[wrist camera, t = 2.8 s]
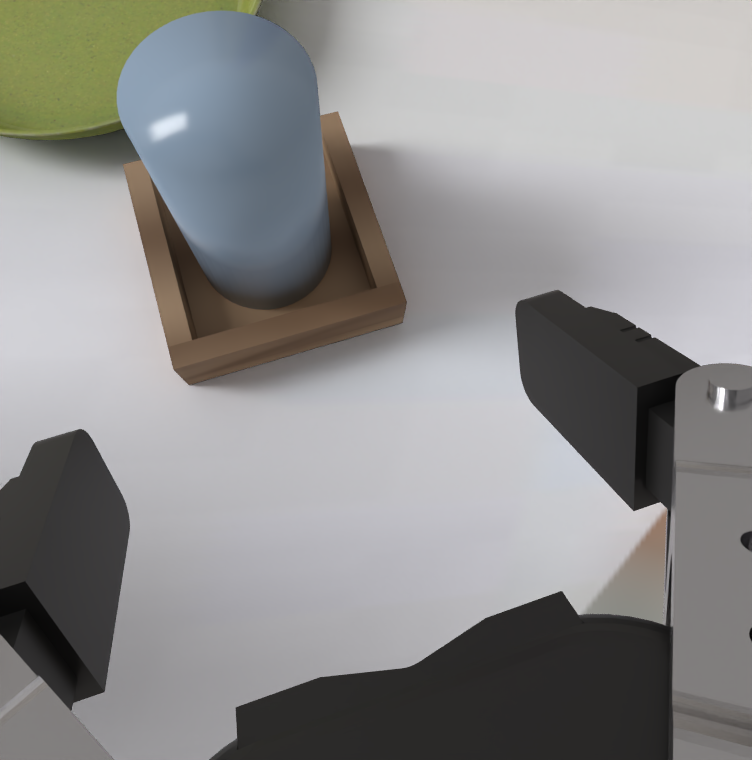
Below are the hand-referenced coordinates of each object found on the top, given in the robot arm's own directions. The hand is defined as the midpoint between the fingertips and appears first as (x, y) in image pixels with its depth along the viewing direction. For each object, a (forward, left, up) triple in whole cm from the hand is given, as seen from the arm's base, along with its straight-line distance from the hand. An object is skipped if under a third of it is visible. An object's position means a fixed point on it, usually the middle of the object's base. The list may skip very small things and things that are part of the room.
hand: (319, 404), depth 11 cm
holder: (+5, +10, -15) cm, 19 cm away
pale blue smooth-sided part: (+5, +10, -14) cm, 18 cm away
